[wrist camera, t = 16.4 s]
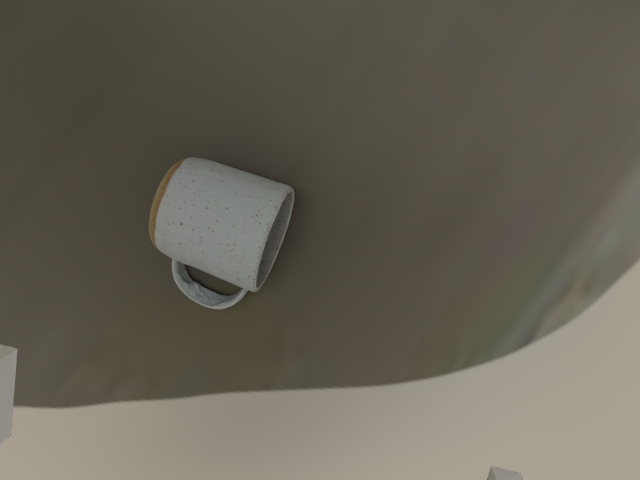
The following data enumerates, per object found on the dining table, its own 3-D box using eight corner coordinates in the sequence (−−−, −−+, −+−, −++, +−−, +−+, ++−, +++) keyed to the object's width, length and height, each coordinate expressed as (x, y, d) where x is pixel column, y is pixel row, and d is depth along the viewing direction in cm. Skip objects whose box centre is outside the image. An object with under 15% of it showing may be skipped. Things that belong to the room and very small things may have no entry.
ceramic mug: (197, 152, 40) (159, 147, 33) (301, 186, 40) (287, 189, 33) (159, 284, 42) (115, 309, 34) (259, 318, 42) (237, 350, 34)
